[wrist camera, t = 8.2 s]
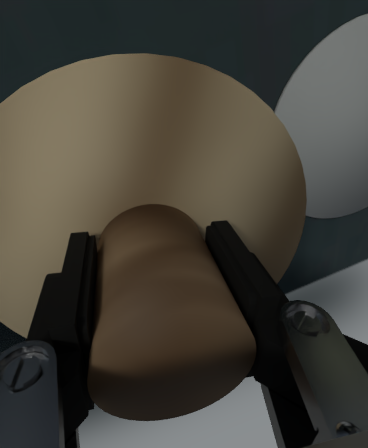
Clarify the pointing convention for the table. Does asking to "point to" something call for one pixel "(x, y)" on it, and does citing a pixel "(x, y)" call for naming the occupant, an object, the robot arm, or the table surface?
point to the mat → (331, 120)
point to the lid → (146, 218)
